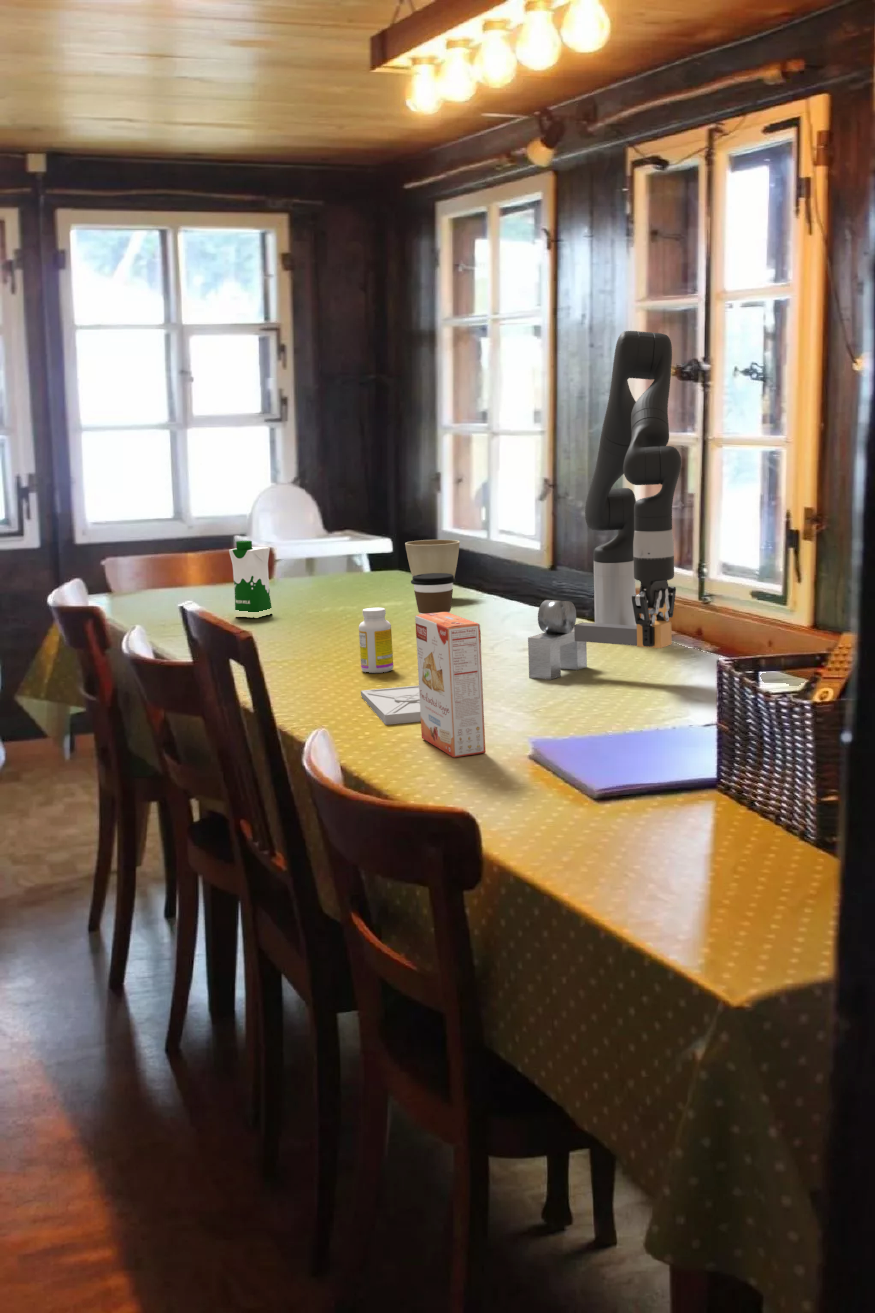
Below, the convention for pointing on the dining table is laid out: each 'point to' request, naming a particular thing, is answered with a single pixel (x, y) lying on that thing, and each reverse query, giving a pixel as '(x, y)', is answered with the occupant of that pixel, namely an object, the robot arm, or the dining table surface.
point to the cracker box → (450, 683)
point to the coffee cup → (433, 592)
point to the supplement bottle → (375, 641)
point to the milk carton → (250, 577)
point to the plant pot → (432, 556)
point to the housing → (555, 642)
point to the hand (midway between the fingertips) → (654, 643)
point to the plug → (622, 634)
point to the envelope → (395, 704)
